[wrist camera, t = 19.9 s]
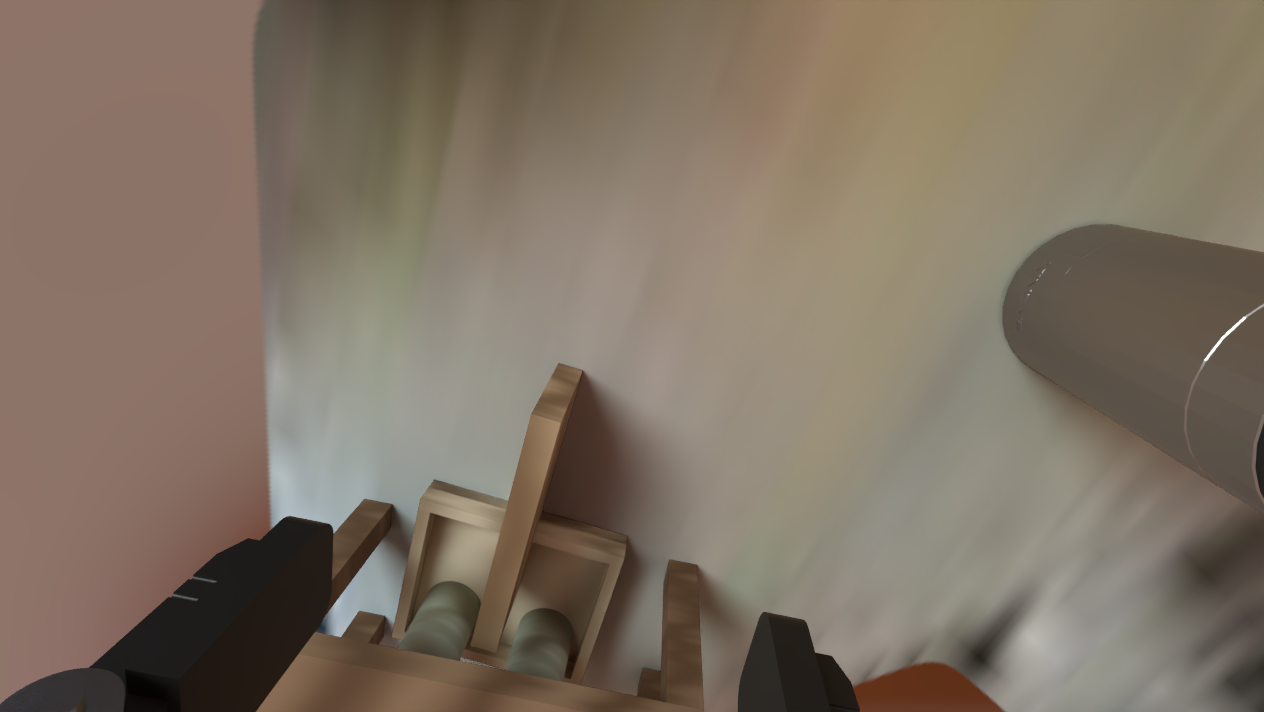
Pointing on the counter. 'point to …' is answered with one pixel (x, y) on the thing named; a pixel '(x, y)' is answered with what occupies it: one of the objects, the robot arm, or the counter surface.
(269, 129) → the counter surface
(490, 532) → the tray
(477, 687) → the wooden rack
